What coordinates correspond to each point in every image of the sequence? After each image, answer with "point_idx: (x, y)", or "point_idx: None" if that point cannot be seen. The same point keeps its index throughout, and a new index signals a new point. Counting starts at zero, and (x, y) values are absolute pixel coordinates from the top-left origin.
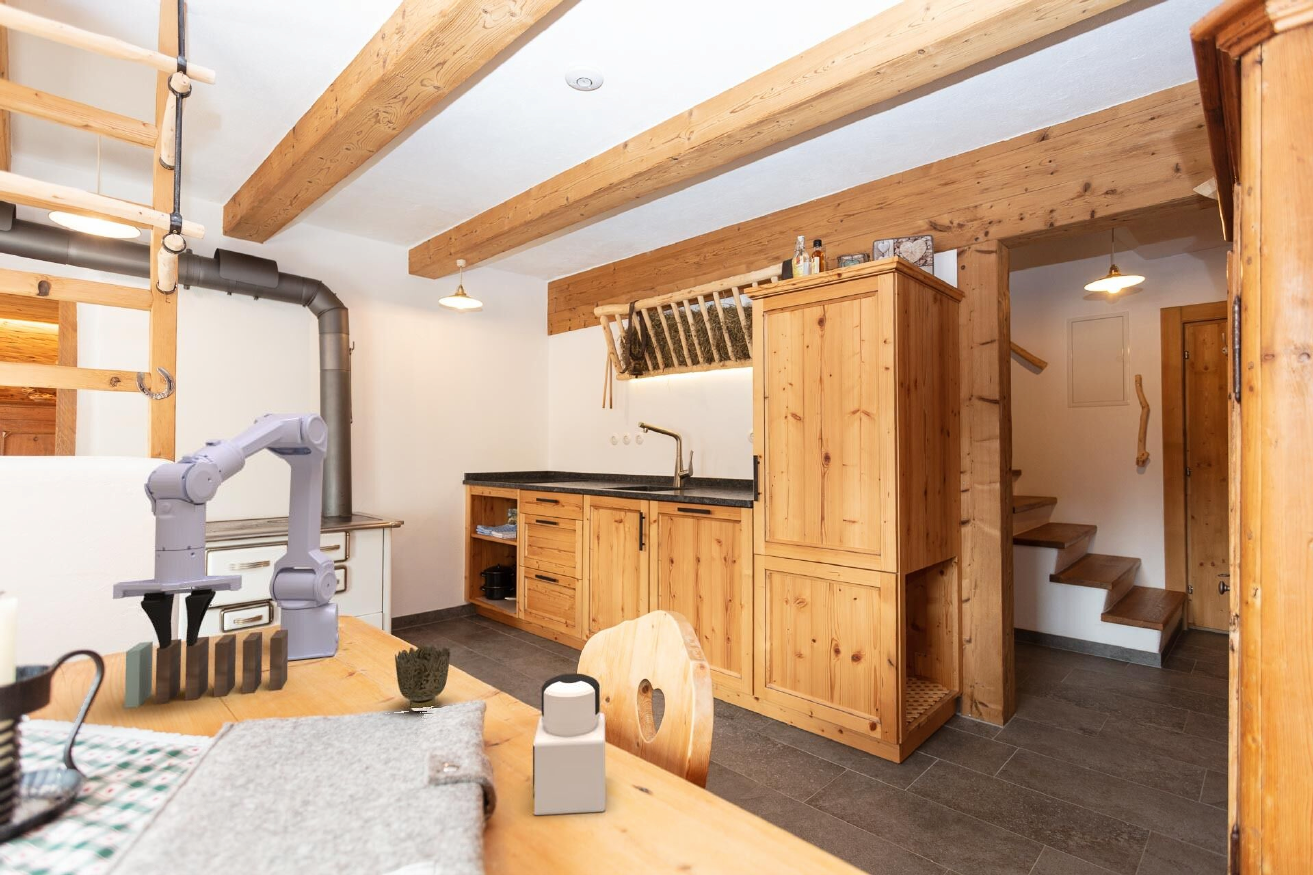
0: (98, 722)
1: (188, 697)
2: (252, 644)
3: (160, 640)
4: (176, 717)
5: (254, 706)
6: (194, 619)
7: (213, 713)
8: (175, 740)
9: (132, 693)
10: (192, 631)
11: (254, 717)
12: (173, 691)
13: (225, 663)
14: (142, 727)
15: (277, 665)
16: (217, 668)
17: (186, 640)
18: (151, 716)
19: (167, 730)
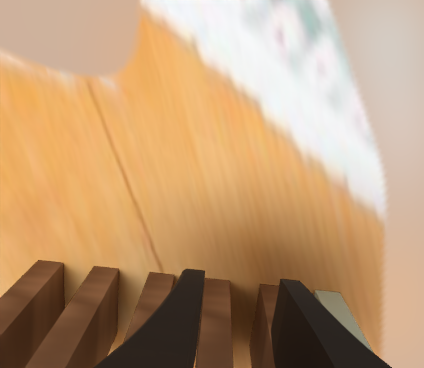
0: (377, 225)
1: (223, 283)
2: (40, 357)
3: (308, 295)
4: (228, 177)
5: (72, 169)
6: (147, 339)
7: (154, 164)
8: (202, 5)
9: (336, 311)
10: (172, 299)
11: (53, 85)
12: (257, 319)
13: (134, 326)
14: (287, 144)
15: (12, 297)
16: None
17: (202, 278)
18: (280, 211)
19: (232, 93)
